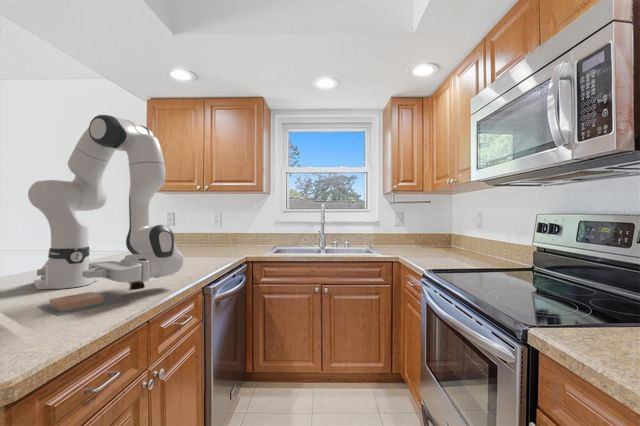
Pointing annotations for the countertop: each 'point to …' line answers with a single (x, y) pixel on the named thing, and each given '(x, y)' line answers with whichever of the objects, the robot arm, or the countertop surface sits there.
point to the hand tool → (137, 285)
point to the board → (107, 300)
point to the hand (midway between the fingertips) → (84, 274)
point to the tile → (76, 301)
